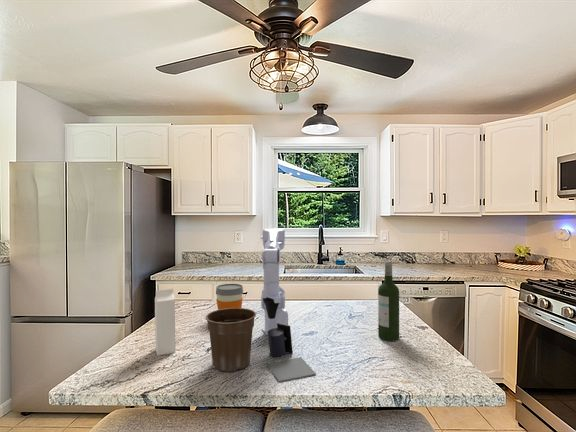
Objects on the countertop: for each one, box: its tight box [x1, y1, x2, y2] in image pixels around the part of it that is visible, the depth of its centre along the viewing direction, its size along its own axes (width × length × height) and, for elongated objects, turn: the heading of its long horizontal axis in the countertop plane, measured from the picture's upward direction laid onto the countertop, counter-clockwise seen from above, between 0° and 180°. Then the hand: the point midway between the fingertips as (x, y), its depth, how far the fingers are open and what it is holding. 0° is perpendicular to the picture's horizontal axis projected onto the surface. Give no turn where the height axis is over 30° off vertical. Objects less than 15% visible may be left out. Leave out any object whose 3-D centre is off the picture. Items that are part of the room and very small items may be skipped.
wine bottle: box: [377, 260, 400, 342], centre depth 127 cm, size 8×8×30 cm
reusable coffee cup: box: [215, 283, 244, 310], centre depth 151 cm, size 12×13×15 cm
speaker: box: [267, 323, 294, 359], centre depth 113 cm, size 8×6×10 cm
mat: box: [266, 356, 317, 383], centre depth 102 cm, size 12×12×1 cm
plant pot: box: [205, 307, 257, 373], centre depth 106 cm, size 16×16×16 cm
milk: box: [154, 288, 176, 357], centre depth 116 cm, size 6×6×22 cm
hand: (271, 318), depth 120 cm, fingers closed
